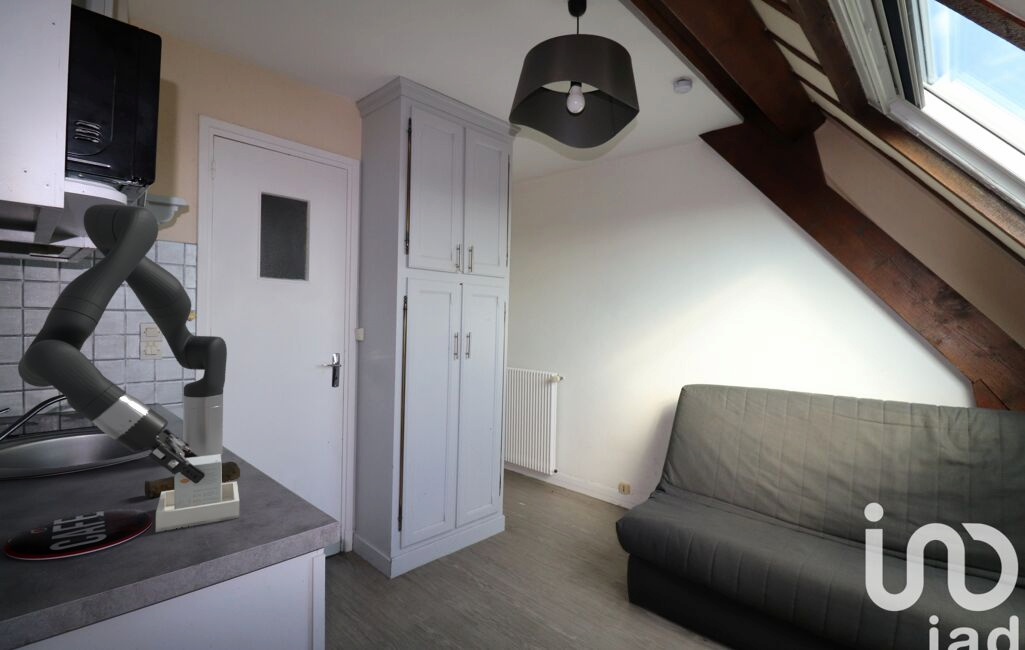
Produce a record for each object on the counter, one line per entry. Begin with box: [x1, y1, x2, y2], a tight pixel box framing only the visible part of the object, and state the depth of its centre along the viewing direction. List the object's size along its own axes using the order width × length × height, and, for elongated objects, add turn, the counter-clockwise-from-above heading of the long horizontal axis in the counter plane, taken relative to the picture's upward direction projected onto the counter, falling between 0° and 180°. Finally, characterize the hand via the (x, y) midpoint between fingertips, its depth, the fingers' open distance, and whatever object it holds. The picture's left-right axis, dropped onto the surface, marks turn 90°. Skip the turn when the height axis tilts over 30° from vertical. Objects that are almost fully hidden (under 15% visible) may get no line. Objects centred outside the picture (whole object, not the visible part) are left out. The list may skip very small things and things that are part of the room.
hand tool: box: [144, 461, 241, 500], centre depth 113 cm, size 19×4×5 cm, turn 136°
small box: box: [173, 454, 222, 509], centre depth 99 cm, size 8×6×10 cm
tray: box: [155, 481, 240, 533], centre depth 100 cm, size 12×14×4 cm
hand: (201, 472), depth 99 cm, fingers open, 8 cm apart
